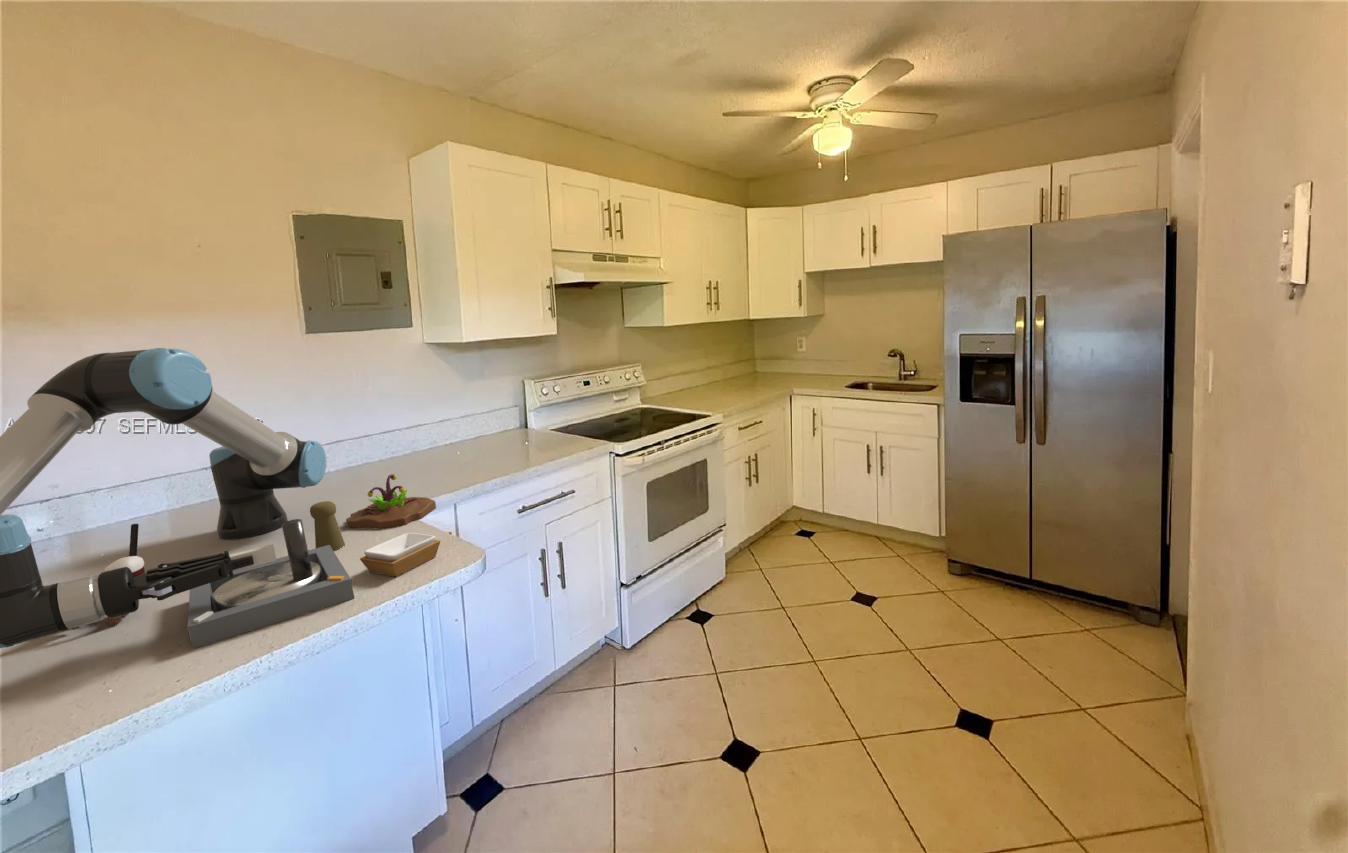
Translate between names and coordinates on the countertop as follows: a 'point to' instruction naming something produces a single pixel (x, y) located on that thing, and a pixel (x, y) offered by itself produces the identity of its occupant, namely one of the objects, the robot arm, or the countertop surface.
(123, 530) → the countertop surface
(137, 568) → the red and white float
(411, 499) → the plant
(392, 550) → the soap dish
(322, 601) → the tray
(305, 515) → the countertop surface
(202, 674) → the countertop surface
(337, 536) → the cork
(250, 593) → the dial
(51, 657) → the countertop surface
